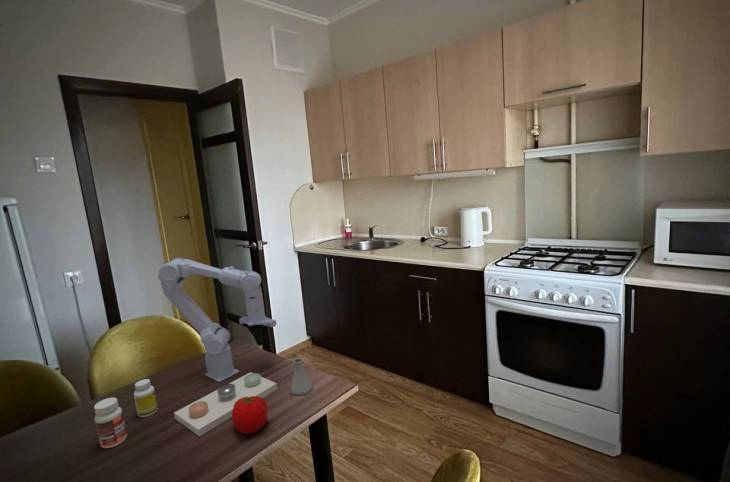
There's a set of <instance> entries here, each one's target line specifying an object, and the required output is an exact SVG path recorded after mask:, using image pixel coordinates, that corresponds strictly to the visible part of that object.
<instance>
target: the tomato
mask: <svg viewBox="0 0 730 482" xmlns="http://www.w3.org/2000/svg"><path fill="white" fill-rule="evenodd" d="M268 409H269V407H268V404H267V402H266V400H264V398H260V397H259V396H252V397H243V398H242V397H241V399H239V400H237V401H236V402H235V404H234V407H233V410H232V417H231V421H232V423H233V424H232V425H233V426H234V427H235V429H236V430H237V431H238V432H239V433H241V434H251V433H255V432H257V431H259V430H260V429H261V428H263V426H264V425H265V423H266V421H267V417H268V416H267V415H268Z"/></svg>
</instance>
